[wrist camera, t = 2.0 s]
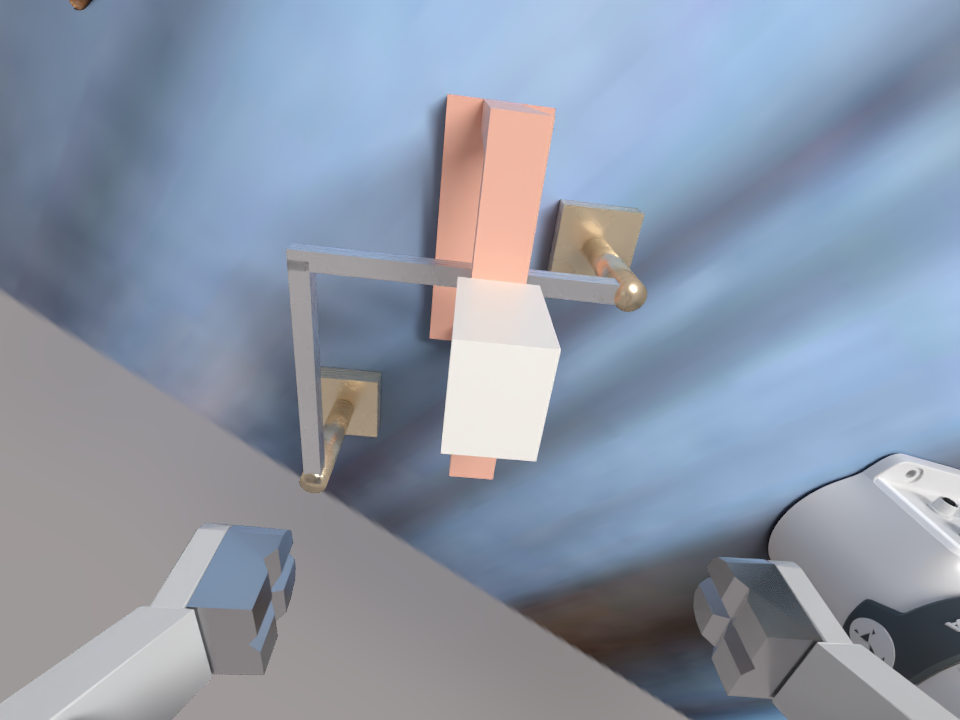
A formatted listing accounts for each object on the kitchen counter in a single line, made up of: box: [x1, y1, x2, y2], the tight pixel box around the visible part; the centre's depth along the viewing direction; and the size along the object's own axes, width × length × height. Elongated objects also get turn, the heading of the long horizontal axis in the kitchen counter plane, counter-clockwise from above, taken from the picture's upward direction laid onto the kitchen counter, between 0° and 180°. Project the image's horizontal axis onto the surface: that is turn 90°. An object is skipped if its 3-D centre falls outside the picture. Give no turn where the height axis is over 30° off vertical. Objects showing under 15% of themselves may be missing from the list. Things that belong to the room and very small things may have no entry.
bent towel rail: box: [286, 199, 647, 493], centre depth 31 cm, size 21×19×10 cm
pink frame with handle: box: [430, 94, 561, 479], centre depth 23 cm, size 6×15×20 cm, turn 173°
